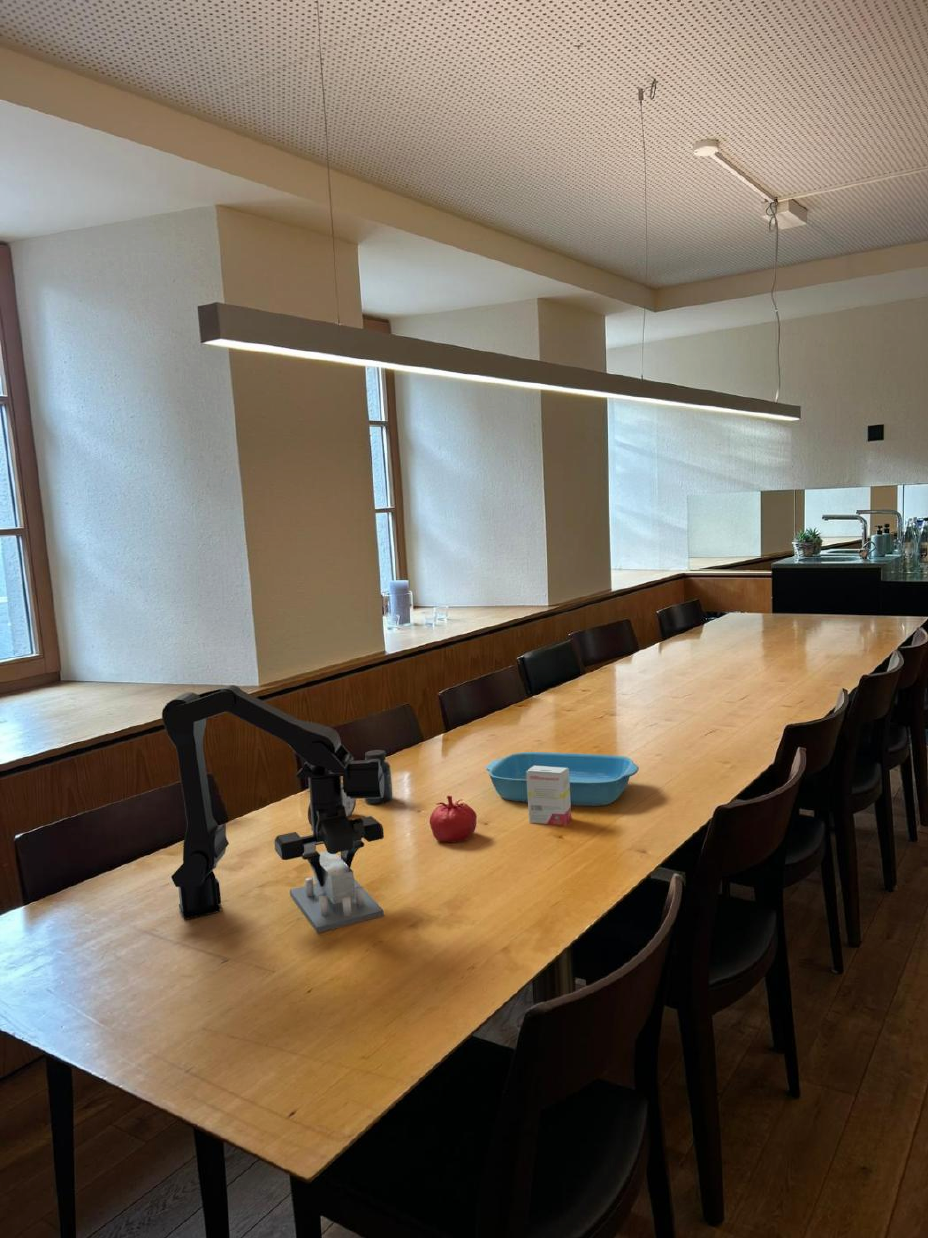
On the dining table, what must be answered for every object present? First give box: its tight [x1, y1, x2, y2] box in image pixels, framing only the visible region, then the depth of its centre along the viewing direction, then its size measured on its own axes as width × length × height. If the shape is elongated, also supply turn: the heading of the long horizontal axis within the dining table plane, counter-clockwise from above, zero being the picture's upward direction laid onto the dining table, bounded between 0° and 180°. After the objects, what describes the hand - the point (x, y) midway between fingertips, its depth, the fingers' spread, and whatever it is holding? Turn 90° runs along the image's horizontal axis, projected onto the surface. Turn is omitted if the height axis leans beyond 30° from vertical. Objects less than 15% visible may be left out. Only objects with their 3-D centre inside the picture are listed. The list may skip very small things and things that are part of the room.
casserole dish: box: [485, 751, 640, 807], centre depth 219 cm, size 37×22×7 cm, turn 68°
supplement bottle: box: [364, 749, 394, 806], centre depth 222 cm, size 7×7×12 cm
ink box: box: [526, 766, 572, 826], centre depth 201 cm, size 9×5×12 cm, turn 67°
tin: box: [307, 781, 357, 826], centre depth 208 cm, size 15×3×8 cm, turn 150°
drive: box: [313, 850, 356, 904], centre depth 164 cm, size 4×12×5 cm, turn 25°
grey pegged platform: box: [289, 877, 385, 934], centre depth 165 cm, size 12×18×4 cm, turn 25°
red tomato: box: [429, 795, 478, 843], centre depth 194 cm, size 10×10×9 cm
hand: (333, 883), depth 165 cm, fingers closed on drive, 4 cm apart
